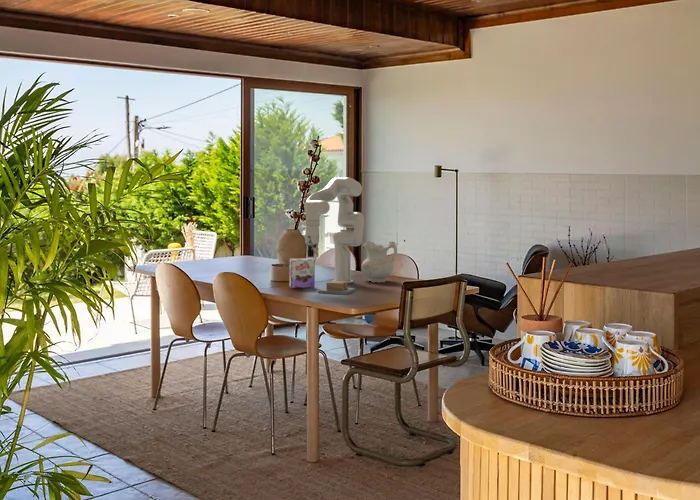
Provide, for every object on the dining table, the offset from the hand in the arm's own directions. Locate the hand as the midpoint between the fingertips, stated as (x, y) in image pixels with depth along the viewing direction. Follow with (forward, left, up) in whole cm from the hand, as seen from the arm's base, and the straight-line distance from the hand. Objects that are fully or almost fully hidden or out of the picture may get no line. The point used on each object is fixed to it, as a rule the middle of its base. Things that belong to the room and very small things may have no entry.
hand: (312, 255), depth 465 cm
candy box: (-10, -10, -20) cm, 24 cm away
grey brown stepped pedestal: (0, +15, -19) cm, 24 cm away
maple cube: (0, 0, -1) cm, 1 cm away
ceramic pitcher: (-53, +23, -20) cm, 61 cm away
